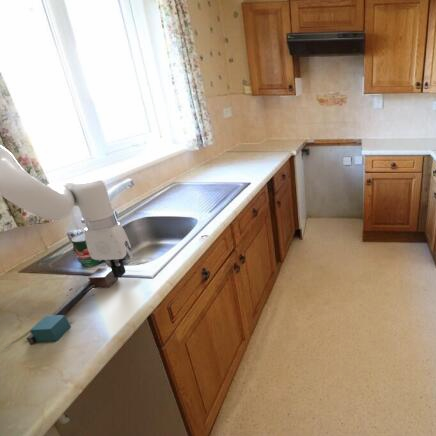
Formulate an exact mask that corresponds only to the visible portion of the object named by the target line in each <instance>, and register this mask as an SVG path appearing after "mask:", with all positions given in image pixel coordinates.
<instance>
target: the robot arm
mask: <svg viewBox="0 0 436 436" xmlns="http://www.w3.org/2000/svg"><path fill="white" fill-rule="evenodd" d="M0 196H1V197H2V198H4V199H5V200H7V201H8V202H10V203H12V204H13V205H15V206H16V207H19V208H21V209H23V210H25V211H27V212H28V213H31V214H33V215H35V216H37V217H39V218H42V219H45V220H48V221H59V220H60V221H61V220H63V219H66V218H68V217H69V216H70V215H71V214H72V212H73V210H74V207H78V209H79V212H80V214H81V217H82V218H81V220H80V221H81V223H82V224H84V225H85V228H83V229H84V230H83V231H84V232H85V240H86V244H87V248H88V251H89V254H90V256H91V258H92V259H95V260H99V261H103V262H104V263H105V264H106V266H107V267H108V268H111V270H112V273H113V275H114V277H115V278H117V277H118V279H119V278H122V277H123V275H125V274H126V268H125V265H124V262H125V261H127V260H131V258H133V257H134V256H133V253H132V246H131V243H130V240H129V238H128V235H127V233H126V231H125V229H124V227H123V226H122V224H121V223H120V222H118V218H117V216H116V213H115V210H114V207H113V203H112V200H111V197H110V195H109V191H108V189H107V186H106V183H105V182H104V180H102V179H101V178H95V177H94V178H93V177H92V178H86V179H81V180H78V181H58V182H51V183H48V184H45V183H43V182H42V181H40V180H38V179H37V178H36V177H34V176H33V175H31V174H30V173H29V172H27V171H26V170H25V168H23V167H22V166H21V165H20V164H19V162H18V161H17V159H16V158H15V156H14V155H13V154H12V153H11V152H10V151H9V150H8V149H7V148H5V147H4V146H2V145H0Z"/></svg>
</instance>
